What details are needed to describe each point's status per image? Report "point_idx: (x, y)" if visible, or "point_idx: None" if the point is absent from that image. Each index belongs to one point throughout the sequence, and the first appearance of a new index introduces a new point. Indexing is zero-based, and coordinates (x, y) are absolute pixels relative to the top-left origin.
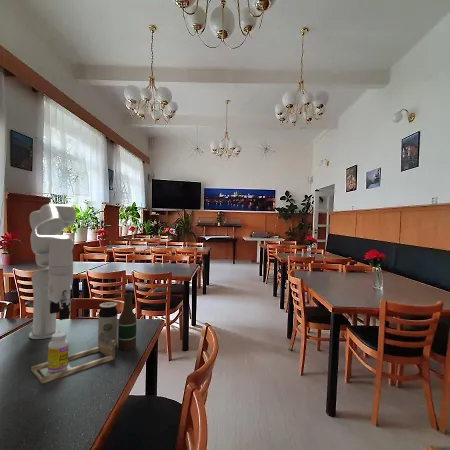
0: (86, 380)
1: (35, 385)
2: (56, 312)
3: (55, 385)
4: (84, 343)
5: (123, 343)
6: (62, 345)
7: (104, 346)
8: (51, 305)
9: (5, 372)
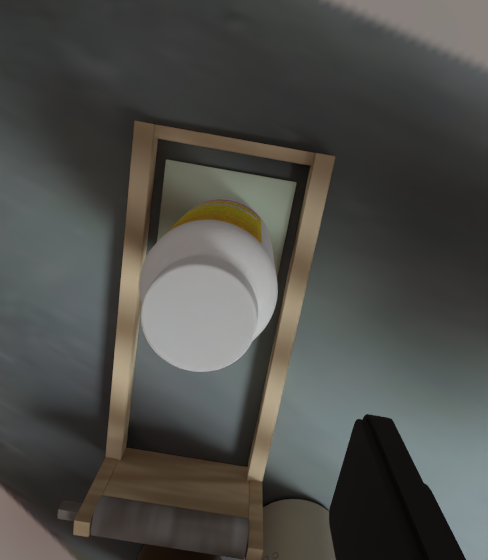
0: (10, 268)
1: (150, 91)
2: (336, 485)
3: (72, 154)
4: None
5: (153, 558)
6: (140, 286)
7: (186, 489)
8: (396, 540)
9: (438, 53)
